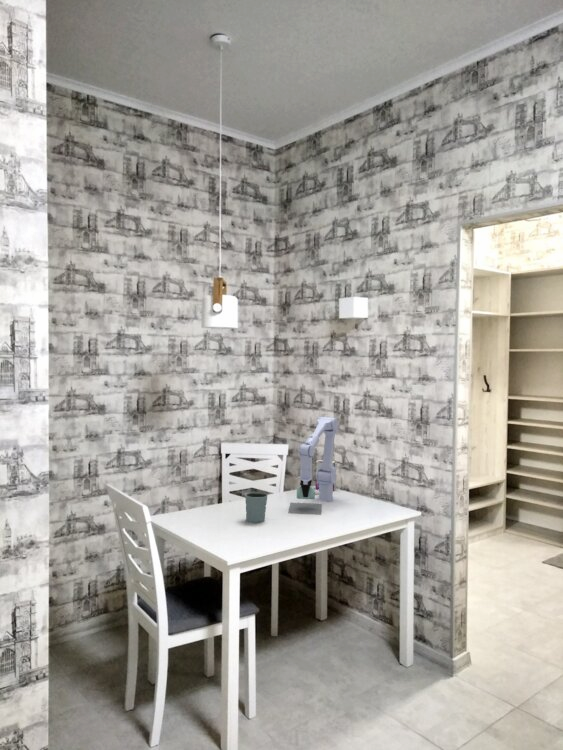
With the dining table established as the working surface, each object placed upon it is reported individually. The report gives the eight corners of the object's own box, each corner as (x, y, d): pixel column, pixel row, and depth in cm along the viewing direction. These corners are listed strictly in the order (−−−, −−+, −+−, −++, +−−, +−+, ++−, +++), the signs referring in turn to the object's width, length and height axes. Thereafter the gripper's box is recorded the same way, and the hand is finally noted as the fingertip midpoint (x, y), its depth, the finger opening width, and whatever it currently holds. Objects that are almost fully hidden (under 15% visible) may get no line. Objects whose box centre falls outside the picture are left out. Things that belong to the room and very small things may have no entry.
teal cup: (240, 519, 267) (240, 494, 266) (256, 515, 274) (256, 490, 273) (255, 524, 260) (255, 498, 259) (271, 520, 267) (271, 494, 266)
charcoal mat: (290, 503, 297) (290, 502, 297) (321, 504, 296) (321, 503, 296) (287, 514, 278) (287, 513, 278) (321, 515, 276) (321, 514, 276)
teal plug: (296, 498, 285) (296, 488, 285) (296, 496, 289) (296, 486, 289) (319, 499, 284) (319, 489, 284) (319, 497, 288) (319, 487, 288)
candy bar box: (336, 489, 331) (336, 460, 330) (334, 491, 326) (334, 462, 326) (317, 487, 335) (317, 459, 334) (315, 489, 330) (315, 460, 329)
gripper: (298, 465, 294) (298, 492, 294) (297, 471, 279) (296, 499, 280) (312, 466, 293) (312, 492, 294) (312, 471, 279) (311, 499, 279)
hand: (305, 495), depth 287 cm, fingers closed on teal plug, 4 cm apart
